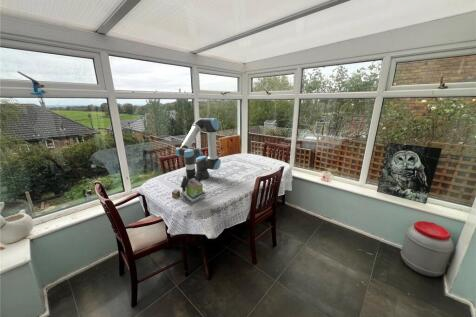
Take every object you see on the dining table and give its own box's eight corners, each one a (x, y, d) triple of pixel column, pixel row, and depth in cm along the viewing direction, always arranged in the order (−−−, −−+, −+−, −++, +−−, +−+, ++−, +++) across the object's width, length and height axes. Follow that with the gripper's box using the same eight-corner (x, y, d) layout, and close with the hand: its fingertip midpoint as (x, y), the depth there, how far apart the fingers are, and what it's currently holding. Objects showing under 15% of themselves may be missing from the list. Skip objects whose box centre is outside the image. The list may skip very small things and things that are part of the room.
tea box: (201, 197, 161) (203, 184, 154) (192, 202, 154) (193, 188, 147) (191, 189, 169) (192, 175, 162) (181, 193, 161) (182, 179, 155)
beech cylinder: (200, 190, 175) (200, 184, 173) (204, 192, 172) (203, 186, 170) (196, 192, 171) (195, 186, 169) (199, 194, 168) (199, 188, 166)
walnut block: (175, 194, 168) (175, 189, 167) (180, 195, 167) (179, 190, 165) (172, 196, 164) (171, 191, 162) (176, 197, 162) (176, 192, 161)
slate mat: (195, 192, 171) (195, 191, 171) (205, 197, 163) (205, 197, 162) (180, 199, 160) (180, 198, 159) (190, 205, 151) (190, 204, 151)
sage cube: (185, 193, 169) (184, 189, 168) (187, 195, 166) (186, 191, 165) (181, 195, 167) (180, 191, 165) (182, 196, 164) (182, 192, 162)
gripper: (199, 163, 163) (201, 184, 170) (174, 171, 145) (177, 195, 152) (205, 165, 159) (206, 187, 165) (179, 174, 141) (182, 198, 147)
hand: (192, 191), depth 159 cm, fingers open, 13 cm apart
